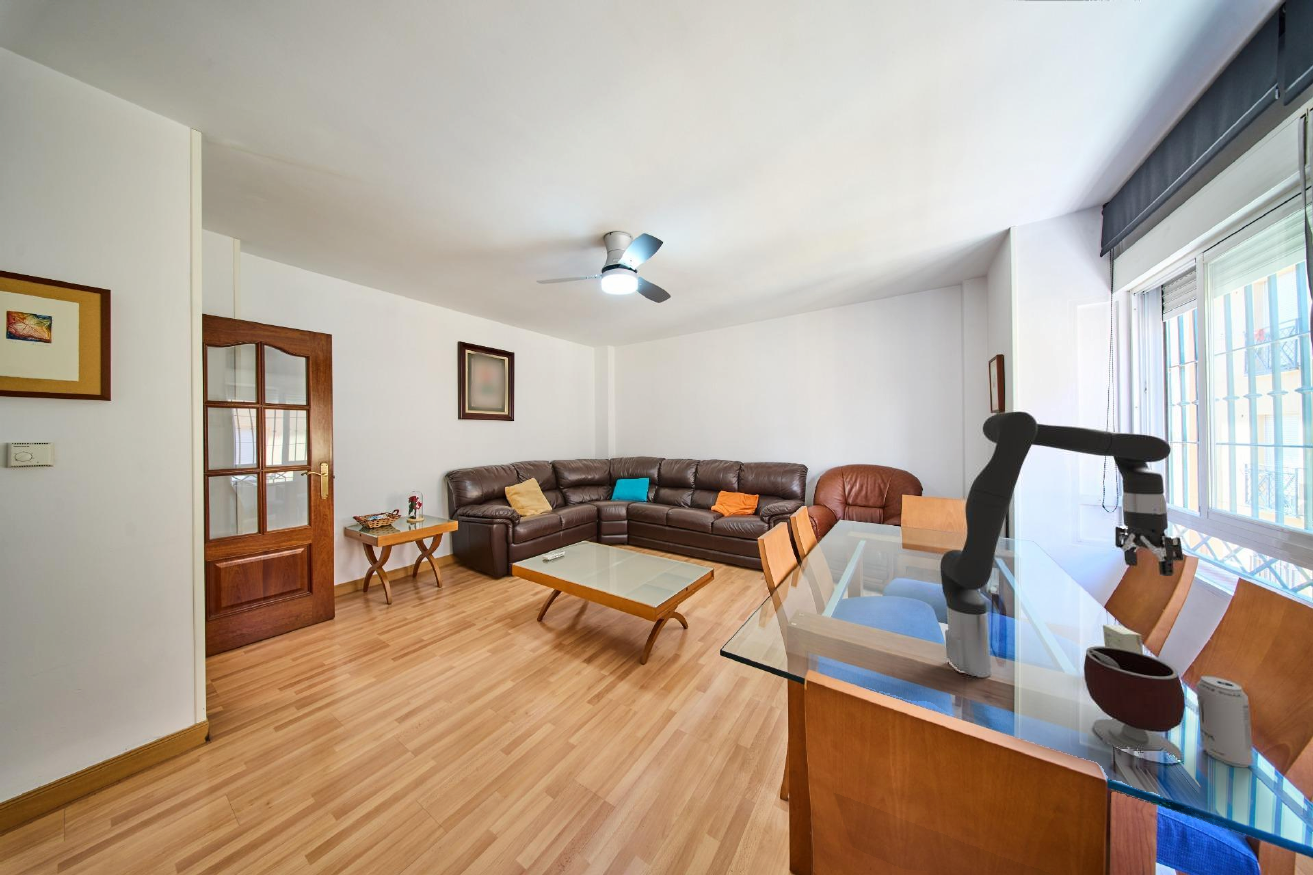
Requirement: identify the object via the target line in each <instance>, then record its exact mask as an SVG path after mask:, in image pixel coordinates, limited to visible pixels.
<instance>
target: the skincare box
mask: <svg viewBox="0 0 1313 875" xmlns="http://www.w3.org/2000/svg"><path fill="white" fill-rule="evenodd" d="M1102 631H1103V632H1102V633H1103V643H1104V646H1105V647H1114V648H1121V649H1126V650H1130V651H1134V652H1138V653H1142V654H1144V651H1143V642H1142V634H1140V633H1138V632H1135V631H1133V630H1132V629H1129V628H1127V627H1124V626H1122V625H1115V624H1114V625H1113V624H1102Z"/></svg>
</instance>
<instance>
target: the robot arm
mask: <svg viewBox="0 0 1313 875" xmlns="http://www.w3.org/2000/svg"><path fill="white" fill-rule="evenodd" d="M982 433H983V434H984V436H985V438H986V439H987V440H988V441H990V442H992V443H994V444H996V445H995V447H994V451H993V454H992V456H991V457H990V458H991V459H990V460H989V461H988V463H987V464H986V466H984V467H983V469H981V471H980V472H979V474H978V475H977V476H976V478H975V479H974V480H973V482H972V484H971V487H970V489H969V493H968V495H967V498H966V503H965V509H964V512H965V520H966V540H965V543H964V544H963V549H962V550H961V549H951V550H949V551H946V552H945V553H944V555H942V557H941V559H940V560H941V561H940V564H939V565H940V566H939V567H940V578H941V587H942V588H941V589H942V592H943V596H944V598H945V602H946V612H947V613H946V614H947V616H946V617H947V628H948V629H945V631H944V636H945V637H944V638H945V651H946V653H945V654H946V659H947V658H948V659H949V660H950V662H952V664H953V665H954V666H955V667H957V669H958V670H960V671H964V672H965V673H967V674H969V675H973V676H977V677H976V678H988V677H990V676H991V675H992V670H991V669H992V665H991V654H990V638H989V636H990V635H989V624H988V623H989V622H988V621H989V620H988V609H987V608H988V607H987V602H986V600H985V599H984V598H983V596H982V595H981V592H980V589H982V588H984V587H985V586H986V585H987V584H988V583H989V581H990V579H991V576H992V570H993V566H994V561H995V555H996V554H995V553H996V548H997V545H998V541H999V538H1000V536H1001V532H1002V528H1003V525H1004V522H1005V518H1006V517H1007V514H1008V511H1009V508H1010V505H1011V503H1012V502H1011V501H1012V500H1013V494H1014V490H1015V488H1016V486H1017V483H1018V480H1019V477H1020V474H1021V470H1022V467H1023V465H1024V462H1025V459H1026V458H1027V455H1028V453H1029V451H1030V449H1031V447H1032V446H1041V447H1047V448H1053V449H1058V450H1064V451H1069V452H1076V453H1080V454H1081V453H1082V454H1086V455H1087V454H1088V455H1094V456H1102V457H1113V459H1114V462H1115V465H1116V467H1117V469H1118V472H1119V474H1120V475H1121V478H1122V480H1121V481H1122V513H1123V514H1122V517H1123V525H1124V526H1115V528H1114V529H1115V537H1114V539H1115V540H1114V541H1115V544H1114V545H1115V547H1116V548H1119V549H1121V550H1122V552H1123V556H1124V562H1125V565H1127V566H1130V567H1131V566H1132V567H1137V566H1138V554H1137V550H1138V549H1139V548H1145V549H1147V550H1149V551H1150V552H1151V553H1153V554H1154V555H1156V557H1157V558H1158V569H1159V570H1158V571H1159V575H1160V576H1163V577H1171V576H1173V575H1174V562H1183V561H1184V556H1183V549H1182V541H1181V537H1179V536H1167V535H1166V532H1165V530H1167V529H1168V527H1169V525H1168V523H1169V522H1168V513H1167V511H1168V509H1167V502H1166V497H1165V488H1164V478H1163V476H1162V474H1161V473H1160V472H1157V471H1154V470H1153V469H1151V468H1149V466H1148V464H1147V463H1156V462H1157V463H1158V462H1161V461H1162V460H1165V459H1166V458H1168V457H1169V455H1170V454H1171V449H1172V448H1171V446H1170V444H1169V443H1168V441H1166V440H1165V439H1163V438H1162V437H1159V436H1155V435H1150V434H1141V433H1140V434H1139V433H1126V432H1115V431H1110V430H1104V429H1098V428H1091V427H1081V426H1072V425H1071V426H1069V425H1067V426H1066V425H1056V424H1055V425H1054V424H1052V425H1051V424H1045V423H1044V424H1042V423H1038V422H1037V420H1036V418H1035V417H1034V416H1033V415H1032V414H1030V413H1028V412H1026V411H1010V412H1001V413H996V414H994V415H992V416H990V417H988V418H987V419H986V420H985V421H984V423H983V426H982ZM969 675H968V676H969ZM973 676H972V677H973Z"/></svg>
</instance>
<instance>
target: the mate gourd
mask: <svg viewBox="0 0 1313 875" xmlns="http://www.w3.org/2000/svg"><path fill="white" fill-rule="evenodd" d="M1085 652H1086V653H1085V656H1084V657H1085V658H1084V663H1083V673H1084V680H1085V685H1086V690H1087V691H1088V693H1089V696H1090V698H1091V699H1092V701H1093V702H1094V703H1095V704H1096V705H1097V707H1099V709H1100V710H1101V711H1102V712H1103V713H1104V714H1106V715H1107V716H1109V717H1110V719H1109V718H1105V719H1103V718H1101V719H1097V720H1095V721H1094V722H1093V724H1092V725H1093V726H1092V728H1093V727H1094V729H1093V731H1094V730H1095V731H1094V733H1095V732H1096V733H1097V734H1098V735H1099V736H1100V737H1101V738H1102V739H1104V740H1105V741H1106V742H1108V743H1109V744H1111V745H1114V746H1115V747H1118V748H1120V749H1128V748H1127V747H1130V749H1134V750H1133V751H1140V753H1144V752H1141V751H1162V750H1163V749H1164V751H1166V752H1165V753H1169V755H1174V756H1175V758H1177V760H1182V761H1183V759H1184V758H1183V753H1182V750H1181V749H1180V748H1179V747H1178V746H1177V744H1175V743H1173V742H1172V741H1171V740H1169V739H1168V738H1166V737H1164V736H1163V735H1160V734H1159V733H1164V732H1165V733H1167V732H1170V731H1171V730H1173V729H1174V728H1176V727H1177V726H1179V725H1181V724H1182V721H1183V719H1184V714H1185V710H1186V701H1185V692H1184V689H1183V688H1184V687H1183V686H1182V683H1181V682H1182V681H1181V679H1180V676H1179V671H1178V670H1177V669H1176V668H1175V667H1173V666H1172V665H1171V664H1169V663H1166V661H1163V660H1161V659H1159V658H1156V657H1153V656H1151V655H1147V654H1144V653H1143V654H1142V653H1138V652H1134V651H1130V650H1126V649H1121V648H1114V647H1105V645H1104V646H1102V645H1101V646H1100V645H1099V646H1098V645H1097V646H1090V647H1088V648H1087V649H1086V650H1085ZM1111 718H1112V719H1111ZM1096 733H1095V734H1096ZM1097 734H1096V735H1097ZM1098 735H1097V736H1098ZM1099 736H1098V737H1099ZM1100 737H1099V738H1100ZM1101 738H1100V739H1101ZM1102 739H1101V740H1102ZM1104 740H1103V741H1104ZM1105 741H1104V742H1105ZM1106 742H1105V743H1106ZM1108 743H1107V744H1108ZM1109 744H1108V745H1109ZM1111 745H1110V746H1111ZM1115 747H1114V748H1115ZM1137 749H1138V750H1137ZM1138 753H1139V752H1138ZM1182 758H1183V759H1182Z"/></svg>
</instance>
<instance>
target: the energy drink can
mask: <svg viewBox="0 0 1313 875" xmlns="http://www.w3.org/2000/svg"><path fill="white" fill-rule="evenodd" d="M1196 691H1197V692H1196V693H1197V706H1198V718H1199V719H1198V720H1199V729H1200V730H1199V731H1200V732H1199V733H1200V743H1201V744H1200V745H1201V747H1202V748H1203V749H1204V750H1205V751H1206V753H1207V754H1208V755H1209V756H1210V757H1212V758H1213V759H1215V760H1217V761H1219V762H1221V763H1224V764H1227V765H1229V766H1233V767H1238V768H1248V767H1249V766H1250V765H1253V764H1254V756H1253V755H1254V752H1253V741H1252V731H1251V730H1252V728H1251V716H1250V705H1249V704H1250V703H1249V697H1248V695H1247V694H1246V693H1245V692H1244V690H1243V688H1242V686H1241V685H1240V684H1238V683H1237V682H1234V681H1231V680H1228V679H1226V678H1222V677H1217V676H1212V675H1202V676H1201V677H1200V680H1199V681H1198V682H1197V683H1196Z"/></svg>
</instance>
